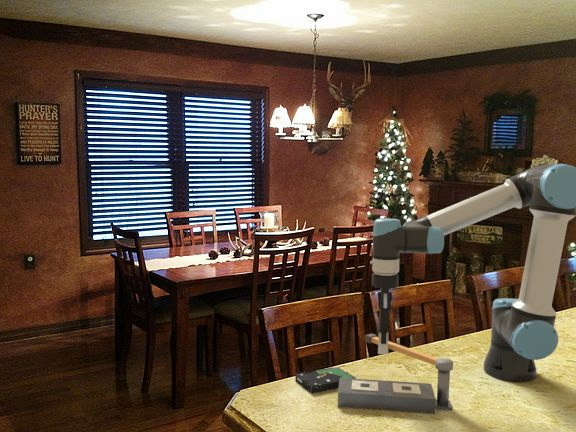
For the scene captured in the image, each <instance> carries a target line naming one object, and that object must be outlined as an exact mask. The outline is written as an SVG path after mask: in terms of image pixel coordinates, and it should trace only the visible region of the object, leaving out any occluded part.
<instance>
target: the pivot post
mask: <svg viewBox="0 0 576 432" xmlns="http://www.w3.org/2000/svg"><path fill="white" fill-rule="evenodd" d="M450 377H451V371H441V370H438V369H437V389H436V390H437V391H436V407H435V410H439V411H453V405H452V402H451V400H449V399H450Z"/></svg>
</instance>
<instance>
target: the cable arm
mask: <svg viewBox="0 0 576 432" xmlns="http://www.w3.org/2000/svg"><path fill="white" fill-rule="evenodd" d="M378 340H379V336H377V334H374V333H368V334H365V335H364V343H367V344H376V345H378ZM388 350H391V351H395V352H397V353H400V354H403V355H405V356H408V357H411V358H414V359H415V360H418V361H422V362H424V363H428V364H430V365H432V366H435V369H437V371H438V370H441V371H450V372H451V371H453V370H454V361H453V360H451V359H450V358H449V359H448V358H442V357H441V358H438V357H435V356H432V355H429V354H427V353H423V352H421V351H418V350H415V349H413V348H409V347H406V346H404V345H401V344H398V343H395V342H392V341H390V340H388Z"/></svg>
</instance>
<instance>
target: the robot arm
mask: <svg viewBox="0 0 576 432" xmlns="http://www.w3.org/2000/svg"><path fill="white" fill-rule="evenodd" d="M527 206H529V208H528V209H529V212H530V213H531V214H532V215H533V220H532V225H531V230H530V231H531V232H530V236H529V241H528V245H527V251H526V258H525V262H524V268H523V272H522V273H523V274H522V278H521V282H520V283H521V284H520V289H519V295H518V298H508V297H507V298H505V297H504V298H495V299H494V301H493V302H492V308H491V311H492V312H491V313H492V314H491V330H490V331H491V332H490V336H491V337H490V346H489V349H488V351H487V354H486V356H485V359H484V360H483V371H484V372H485V374H488V375H489V376H491V377H493V378H496V379H499V380H503V381H509V382H518V383H519V382H520V383H521V382H530V381H533V380H535V379H536V378H537V367H536V362H535V361H538V360H543V359H546V358H547V357H549V356H551V355H552V354H553V353H554V352H555V350H556V349H557V347H558V344H559V334H558V332H557V329H556V328H555V322H556V317H557V311H555V309H554V308H553V306H552V304H553V301H554V294H555V289H556V285H557V279H558V274H559V269H560V265H561V259H562V258H561V257H562V253H563V249H564V244H565V238H566V233H567V229H568V228H567V227H568V223H569V221H571V220H572V219H574V218H576V167H575V165H570V164H565V163H540V164H538V165H534V166H532V167H530V168H528V169H526V170H524V171H521V172H519V173H517V174H516V175H513V176H511V177H509V178H506V179H505V181H504V183H503V184H501V185H500V184H499V185H498V186H496V187H493V188H491V189H489V190H485V191H484V192H480V193H479V194H477V195H475V196H471V197H469V198H466V199H464V200H461V201H460V202H457V203H455V204H454V203H453V204H452V205H450V206H449V205H448V206H447V207H445V208H443V209H440V210H437V211H436V212H433V213H430V214H428V215H426V216H424V217H420V218H418V219H415V220H413V219H412V220H411V219H410V220H409V221H406V222H404V223H403V225H402V224H401V221H400V219H397V218H388V217H385V218H382V217H381V218H377V219H375V221H374V222H373V229H372V230H373V231H372V260H370V261H369V263H370V265H372V267H371V268H372V272H373V273H372V274H371V286H372V287H374V288H377V289H380V291H377V306H378V307H377V308H378V311H379V314H378V315H379V316H378V329H376V333H378V338H379V340H378V344H377V346H378V347H377V354H378V355H389V348H388V341H389V333H390V331H391V327H390V310H391V308H392V305H391V304H392V300H393V294H392V292H391V291H390V290H391V289H396V288H398V287H399V281H400V279H399V272H400V253H402V254H404V253H405V254H407V253H408V254H409V253H411V254H412V253H413V254H429V255H432V254H441V253H442V252H443V250H444V246H445V236H447V235H449V234H451V233H453V232H456V231H458V230H461V229H463V228H466V227H468V226H472V225H474V224H476V223H478V222H481V221H483V220H486V219H488V218H491V217H493V216H495V215H498V214H500V213H503V212H505V211H508V210H510V209H513V208H516V209H518V210H519V209H522V208H524V207H527Z"/></svg>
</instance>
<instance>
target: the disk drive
mask: <svg viewBox="0 0 576 432" xmlns="http://www.w3.org/2000/svg"><path fill="white" fill-rule="evenodd" d="M294 375H295V379H294V380H295V382H296V383H297V384H299V385H300V386H301V387H302V388H303V389H304V390H306V391H307V392H308V393H310V394H311V395H312V394H313V395H314V394H317V393H318V392H319V393H323V392H328V391H332V389H334V390H337V389H336V388H339V380H340V378H353V379H357V378H356V376H354V375H352V374H351V373H349V372H348V371H345V370H343V369H342V368H340V366H335V367H333V366H332V367H328V368H321V369H316V370H315V369H314V370H311V371H309V370H308V371H304V372H299V373H298V372H297V373H295V374H294ZM327 390H328V391H327ZM322 391H323V392H322Z"/></svg>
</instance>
